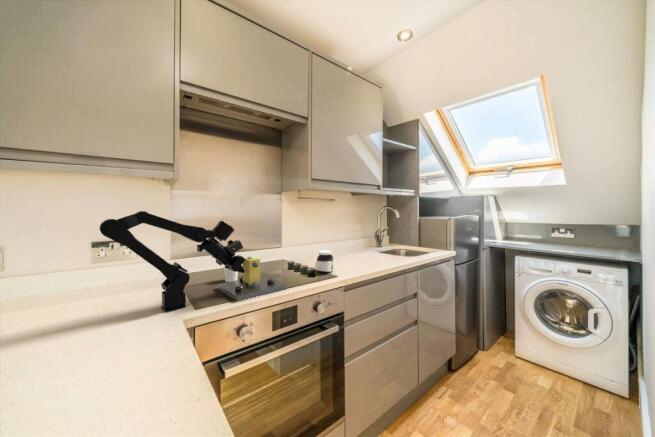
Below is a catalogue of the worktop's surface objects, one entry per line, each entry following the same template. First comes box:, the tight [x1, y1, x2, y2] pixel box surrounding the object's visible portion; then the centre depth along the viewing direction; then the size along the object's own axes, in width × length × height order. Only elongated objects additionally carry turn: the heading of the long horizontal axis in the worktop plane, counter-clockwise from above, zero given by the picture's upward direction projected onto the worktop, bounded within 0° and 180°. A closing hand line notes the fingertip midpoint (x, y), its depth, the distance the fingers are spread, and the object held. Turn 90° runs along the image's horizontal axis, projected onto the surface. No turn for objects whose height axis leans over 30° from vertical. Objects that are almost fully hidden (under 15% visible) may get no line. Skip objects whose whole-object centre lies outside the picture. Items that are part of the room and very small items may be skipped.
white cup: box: [223, 266, 239, 283], centre depth 126 cm, size 7×7×7 cm
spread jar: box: [314, 249, 335, 275], centre depth 141 cm, size 12×11×12 cm
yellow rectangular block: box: [241, 255, 261, 284], centre depth 111 cm, size 5×9×12 cm, turn 42°
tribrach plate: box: [216, 274, 287, 303], centre depth 112 cm, size 22×22×5 cm
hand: (243, 272), depth 109 cm, fingers closed
